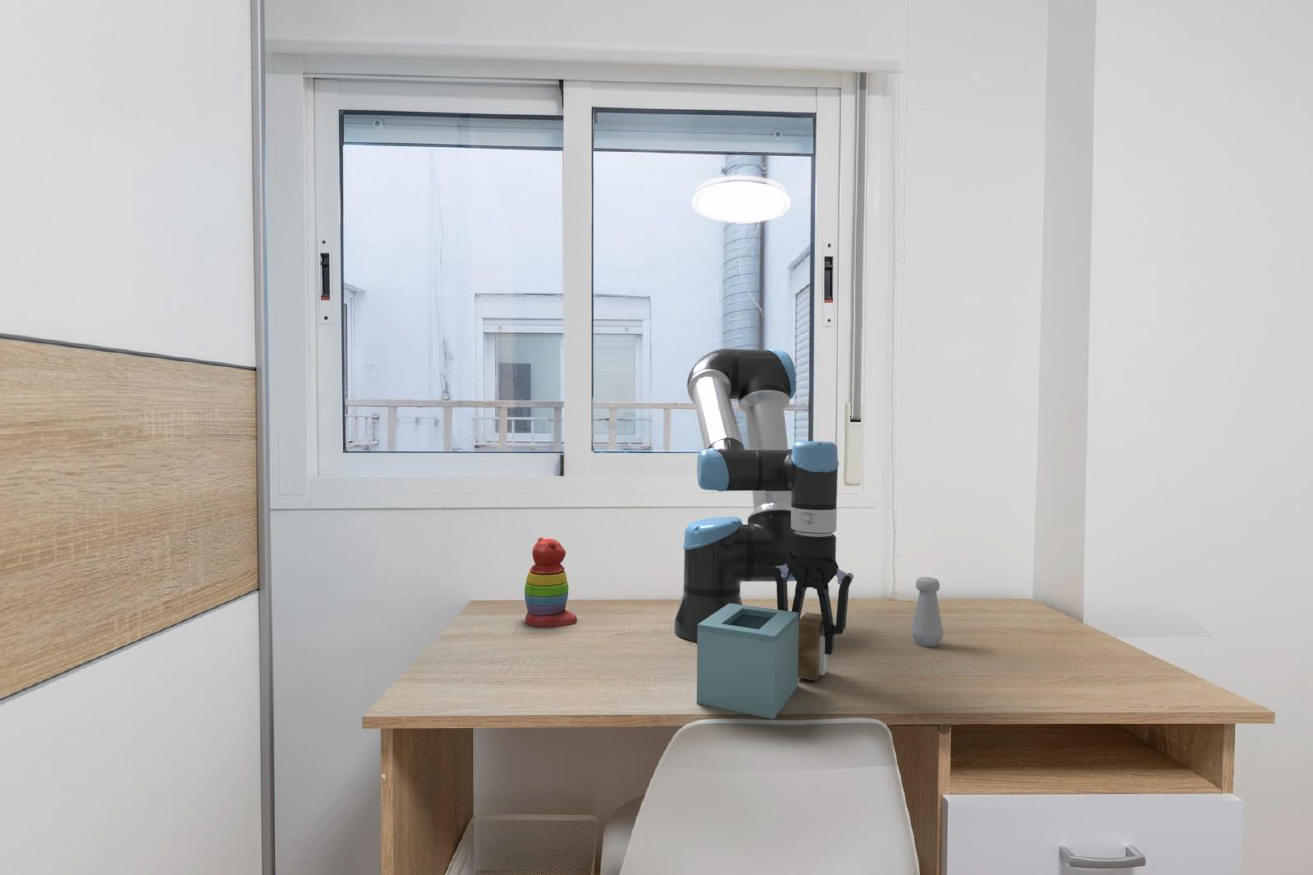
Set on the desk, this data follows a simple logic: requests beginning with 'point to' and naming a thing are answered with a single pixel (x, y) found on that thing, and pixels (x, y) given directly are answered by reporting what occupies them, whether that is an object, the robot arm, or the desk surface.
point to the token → (809, 645)
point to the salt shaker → (927, 614)
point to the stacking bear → (547, 586)
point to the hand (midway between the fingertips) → (810, 669)
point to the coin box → (748, 659)
